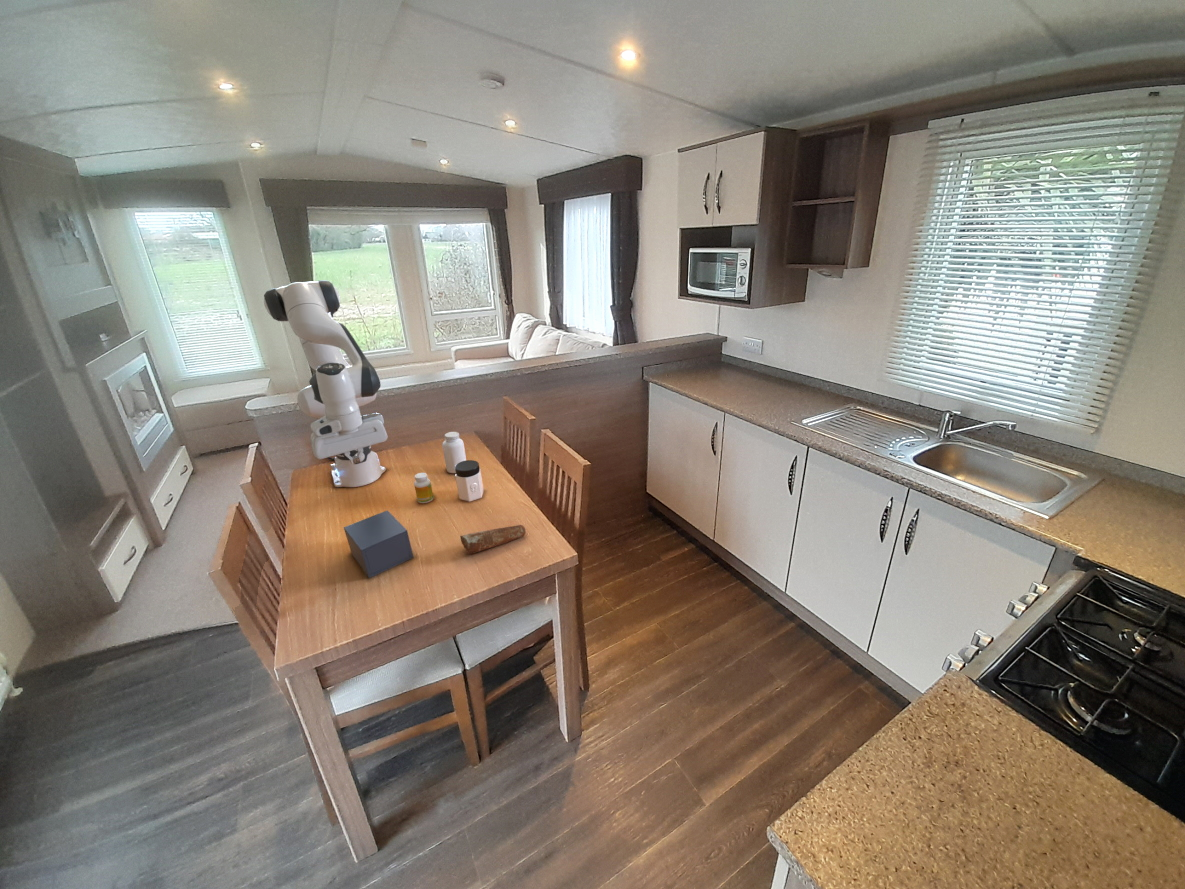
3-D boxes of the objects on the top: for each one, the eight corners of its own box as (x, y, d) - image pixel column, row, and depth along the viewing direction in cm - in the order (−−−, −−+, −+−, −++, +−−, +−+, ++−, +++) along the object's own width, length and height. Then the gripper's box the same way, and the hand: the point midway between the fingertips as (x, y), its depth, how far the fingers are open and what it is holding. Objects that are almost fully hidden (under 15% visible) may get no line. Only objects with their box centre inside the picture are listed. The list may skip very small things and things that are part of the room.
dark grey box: (351, 554, 140) (343, 527, 136) (394, 536, 148) (387, 510, 143) (369, 578, 130) (361, 550, 126) (413, 557, 138) (407, 530, 134)
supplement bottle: (433, 502, 165) (428, 477, 161) (417, 504, 164) (412, 480, 160) (433, 494, 170) (428, 470, 166) (417, 497, 169) (412, 473, 164)
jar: (463, 504, 163) (458, 473, 158) (455, 494, 169) (450, 464, 164) (488, 496, 168) (483, 466, 163) (479, 486, 174) (474, 457, 169)
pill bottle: (471, 465, 189) (466, 431, 183) (460, 475, 182) (454, 439, 176) (454, 463, 192) (448, 429, 185) (442, 472, 185) (436, 437, 179)
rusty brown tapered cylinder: (461, 547, 141) (458, 532, 139) (523, 530, 148) (521, 515, 146) (466, 560, 136) (463, 544, 134) (529, 541, 143) (527, 525, 141)
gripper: (378, 408, 146) (388, 448, 151) (303, 426, 134) (317, 469, 140) (385, 413, 141) (394, 455, 147) (308, 432, 130) (322, 477, 136)
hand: (356, 462), depth 143 cm, fingers closed
